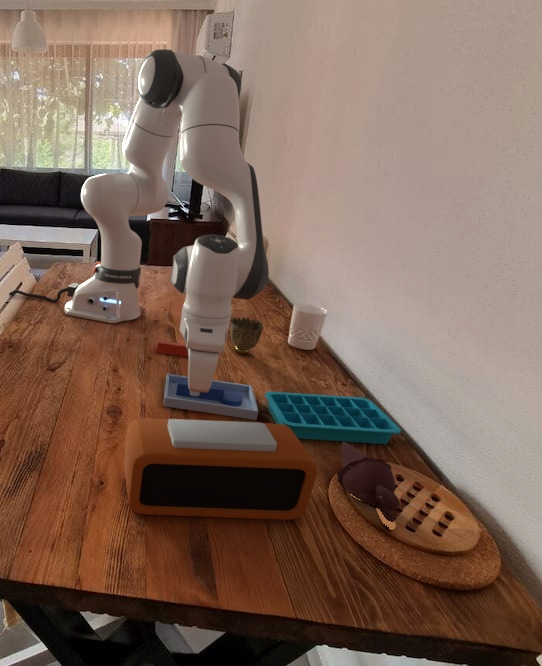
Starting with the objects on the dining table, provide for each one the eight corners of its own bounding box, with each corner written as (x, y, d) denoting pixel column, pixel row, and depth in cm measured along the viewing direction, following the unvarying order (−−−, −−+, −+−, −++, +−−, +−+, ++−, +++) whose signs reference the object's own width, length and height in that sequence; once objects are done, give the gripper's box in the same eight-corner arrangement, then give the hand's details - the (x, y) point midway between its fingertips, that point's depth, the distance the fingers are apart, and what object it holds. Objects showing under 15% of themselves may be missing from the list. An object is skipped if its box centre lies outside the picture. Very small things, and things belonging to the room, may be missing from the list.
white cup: (316, 341, 121) (325, 306, 117) (319, 353, 114) (329, 316, 110) (284, 336, 123) (292, 301, 120) (286, 347, 116) (294, 311, 113)
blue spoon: (175, 398, 90) (177, 386, 89) (176, 387, 94) (178, 376, 93) (242, 408, 87) (245, 396, 86) (240, 397, 91) (242, 385, 90)
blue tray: (163, 406, 88) (164, 397, 87) (165, 381, 97) (166, 373, 96) (256, 420, 84) (258, 411, 84) (250, 393, 94) (251, 385, 93)
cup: (259, 360, 109) (266, 329, 105) (227, 356, 110) (233, 326, 107) (255, 348, 115) (261, 318, 112) (225, 344, 117) (230, 315, 113)
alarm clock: (127, 515, 61) (134, 445, 57) (122, 473, 69) (128, 409, 65) (303, 521, 62) (324, 453, 57) (279, 479, 69) (296, 416, 65)
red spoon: (156, 355, 109) (157, 345, 108) (157, 347, 113) (158, 338, 112) (210, 362, 107) (212, 352, 106) (209, 354, 111) (211, 344, 110)
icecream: (318, 428, 71) (364, 503, 58) (369, 422, 70) (427, 497, 57) (318, 461, 75) (361, 540, 61) (366, 455, 73) (421, 535, 60)
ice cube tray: (399, 447, 78) (404, 433, 77) (280, 439, 79) (284, 425, 78) (364, 411, 89) (368, 397, 88) (260, 404, 90) (263, 391, 89)
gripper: (187, 305, 95) (179, 364, 100) (187, 343, 77) (176, 413, 82) (218, 309, 94) (208, 368, 99) (225, 348, 75) (212, 419, 81)
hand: (194, 389), depth 90 cm, fingers open, 3 cm apart
